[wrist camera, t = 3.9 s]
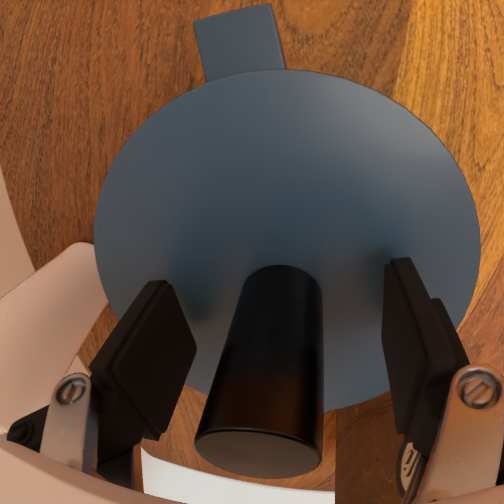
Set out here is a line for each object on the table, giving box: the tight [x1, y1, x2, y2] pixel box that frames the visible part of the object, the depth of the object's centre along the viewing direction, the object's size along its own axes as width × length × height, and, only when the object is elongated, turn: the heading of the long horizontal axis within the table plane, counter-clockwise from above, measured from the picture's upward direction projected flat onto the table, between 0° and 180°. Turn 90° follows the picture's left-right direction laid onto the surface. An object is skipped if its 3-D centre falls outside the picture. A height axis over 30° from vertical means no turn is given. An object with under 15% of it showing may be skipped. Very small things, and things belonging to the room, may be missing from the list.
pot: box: [193, 3, 329, 413], centre depth 14 cm, size 13×18×8 cm
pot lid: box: [94, 69, 481, 479], centre depth 8 cm, size 14×14×7 cm
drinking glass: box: [0, 242, 109, 435], centre depth 16 cm, size 7×7×15 cm
